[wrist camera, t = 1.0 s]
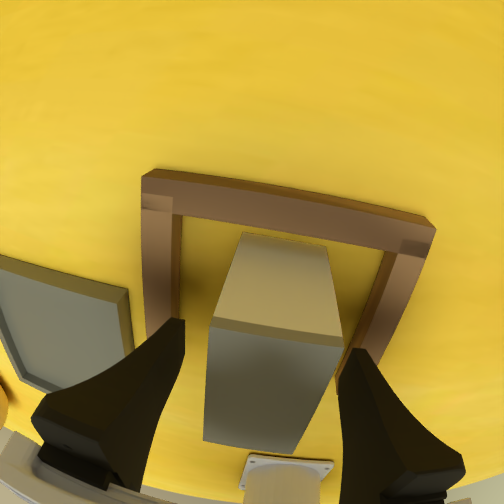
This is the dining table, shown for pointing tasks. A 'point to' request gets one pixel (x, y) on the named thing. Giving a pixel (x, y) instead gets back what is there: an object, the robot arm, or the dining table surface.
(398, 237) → the frame
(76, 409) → the robot arm
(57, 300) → the tray
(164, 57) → the dining table surface
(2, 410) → the sculpture
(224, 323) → the khaki lidded block
